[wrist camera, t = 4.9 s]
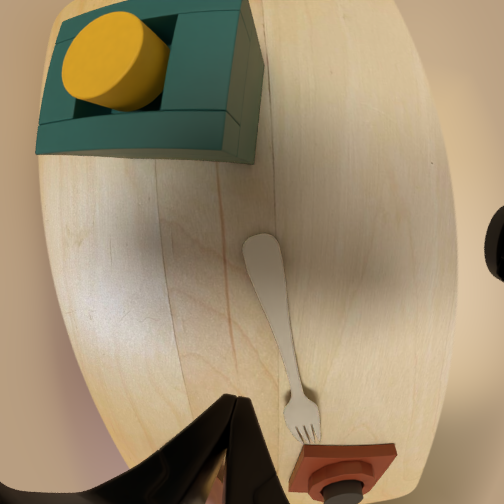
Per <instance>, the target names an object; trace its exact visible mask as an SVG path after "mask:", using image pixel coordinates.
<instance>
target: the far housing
mask: <svg viewBox="0 0 504 504" xmlns="http://www.w3.org/2000/svg"><path fill="white" fill-rule="evenodd" d="M396 456H397V452H396V448H395V445H394V444H384V445H365V446H320V445H304V446H303V448H302V451H301V454H300V456H299V459H298V461H297V463H296V466H295V468H294V471H293V473H292V475H291V478H290V480H289V492H306V493H308V494H309V495H310V496H311V498H312V499H313V500H317V501H321V502H324V499H323V489H324V487H325V486H327V485H329V484H330V483H333V482H337V481H341V480H352V479H356V480H359V481H360V482H361V485H362V492H363V495H364V494H366V493H367V492H369V491H370V490H371V489H372V488H373V486H374V485H375V484H376V482H377V481H378V480H379V479H380V477H381V476H382V475H383V474H384V472H385V471H386V470H387V468H388V467H389V466H390V464H391V463H392V462H393V460H394V459H395V457H396Z"/></svg>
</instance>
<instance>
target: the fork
mask: <svg viewBox="0 0 504 504" xmlns="http://www.w3.org/2000/svg"><path fill="white" fill-rule="evenodd" d="M242 252H243V257H244V261H245V265H246V269H247V272H248V274H249V277H250V279H251V282H252V284H253V287H254V289H255V292H256V294H257V297H258V299H259V301H260V304H261V306H262V308H263V310H264V313H265V315H266V317H267V319H268V322H269V324H270V327H271V329H272V332H273V334H274V337H275V340H276V342H277V345H278V347H279V350H280V353H281V356H282V360H283V363H284V366H285V369H286V372H287V376H288V380H289V383H290V388H291V399H290V401H289V403H288V404H287V405H286V407H285V408H284V412H283V413H284V418H285V422H286V425H287V427H288V429H289V430H290V432H291V433H292V435H293V436H294V437H295V438H296V439H297V440H298V441H299V442H300V443H302V444H303V445H304V443H303V441H302V440H301V438H300V436H299V434H298V431H297V429H296V427H297V428H298V430H299V432H300V434H301V435H302V437H303V438H304V439H305V440H306V441H307V442H308V443H309V444H310V442H309V440H308V437H307V435H306V433H305V429H304V426H305V428H306V431H307V433H308V435H309V437H310V438H311V440H312V441H313V442H314V443H315V440H314V435H313V432H312V427H311V424H312V426H313V429H314V432H315V434H316V436H317V438H318V440H319V442H321V429H320V417H319V412H318V407H317V406H316V404H315V403H314V402H312V401H311V400H309V399H308V398H307V397H306V396H305V395H304V393H303V389H302V385H301V381H300V376H299V372H298V367H297V362H296V356H295V351H294V346H293V340H292V333H291V326H290V319H289V309H288V299H287V289H286V280H285V272H284V265H283V260H282V255H281V251H280V247H279V243H278V241H277V240H276V238H275V237H274V236H272V235H270V234H267V233H262V234H258V235H254V236H250V237H249V238H248V239H247V240H246V241H245V242H244V244H243V248H242Z"/></svg>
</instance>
